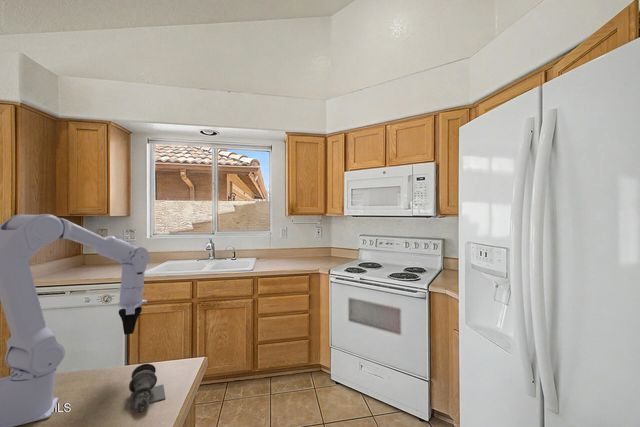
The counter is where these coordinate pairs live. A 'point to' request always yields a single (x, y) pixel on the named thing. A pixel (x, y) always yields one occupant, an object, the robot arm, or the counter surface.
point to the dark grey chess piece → (142, 385)
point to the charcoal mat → (152, 395)
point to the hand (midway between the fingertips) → (128, 333)
